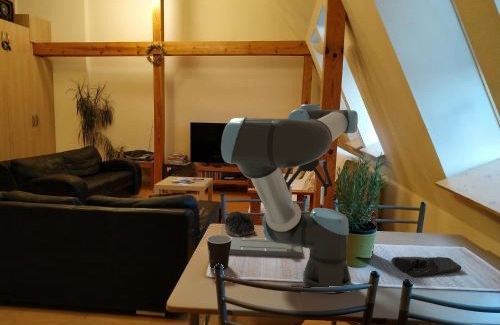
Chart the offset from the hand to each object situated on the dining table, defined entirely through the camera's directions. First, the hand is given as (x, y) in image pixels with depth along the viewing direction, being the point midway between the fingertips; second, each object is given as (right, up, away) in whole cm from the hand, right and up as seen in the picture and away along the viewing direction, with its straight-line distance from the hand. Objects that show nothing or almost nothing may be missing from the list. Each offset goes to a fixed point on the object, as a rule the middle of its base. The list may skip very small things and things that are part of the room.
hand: (305, 203), depth 132 cm
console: (-15, -19, +7) cm, 25 cm away
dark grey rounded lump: (-26, -16, +27) cm, 41 cm away
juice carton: (+23, -21, +3) cm, 31 cm away
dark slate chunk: (+42, -23, -6) cm, 49 cm away
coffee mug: (-32, -21, -8) cm, 39 cm away
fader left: (-6, -18, +3) cm, 19 cm away
